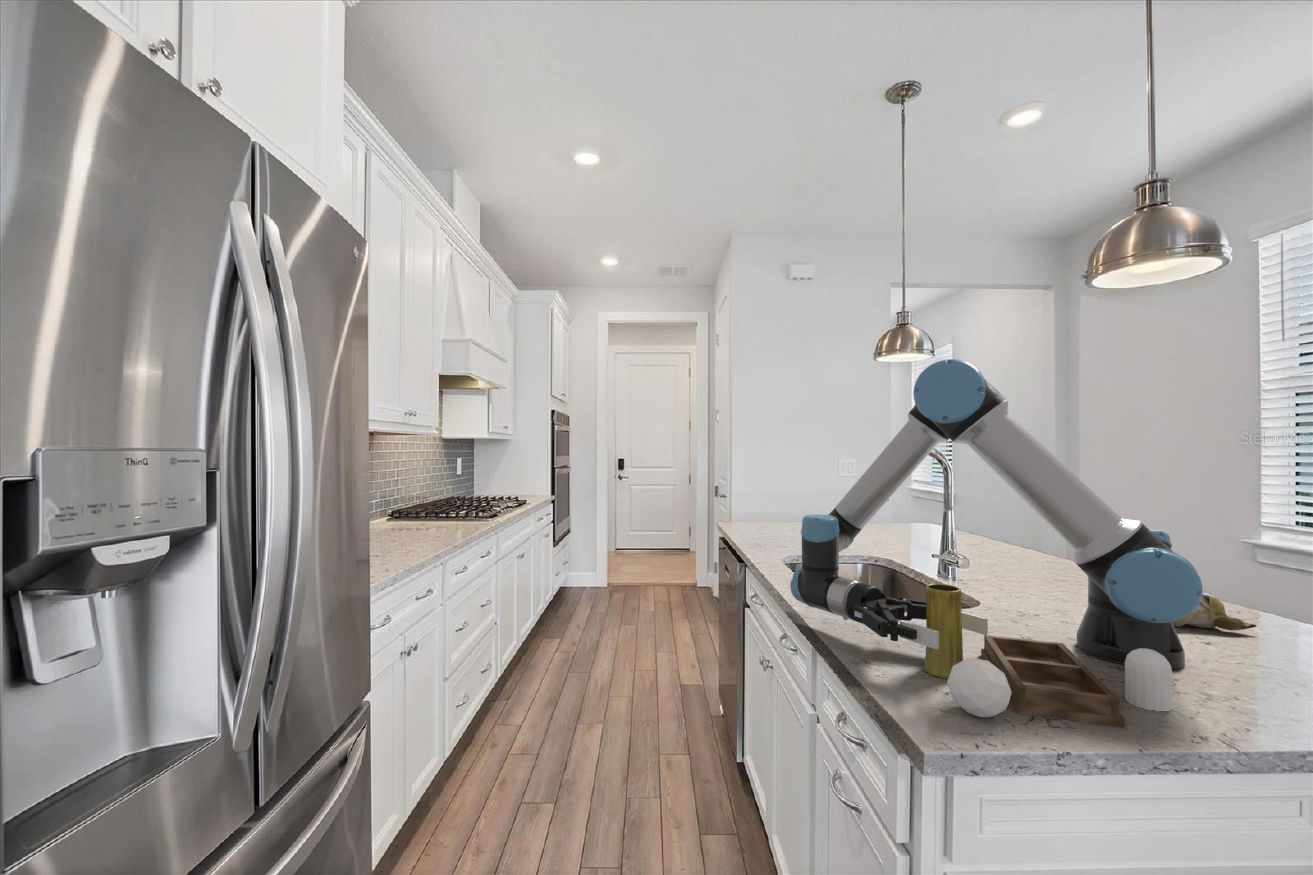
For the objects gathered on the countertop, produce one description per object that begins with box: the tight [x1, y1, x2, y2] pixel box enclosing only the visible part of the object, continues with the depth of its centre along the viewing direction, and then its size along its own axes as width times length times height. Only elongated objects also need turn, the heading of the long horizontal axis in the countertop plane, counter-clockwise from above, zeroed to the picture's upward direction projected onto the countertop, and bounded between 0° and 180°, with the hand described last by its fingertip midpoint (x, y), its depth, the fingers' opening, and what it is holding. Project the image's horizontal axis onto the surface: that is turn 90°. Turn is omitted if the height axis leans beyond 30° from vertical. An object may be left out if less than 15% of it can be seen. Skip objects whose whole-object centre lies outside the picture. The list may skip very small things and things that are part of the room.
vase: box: [923, 583, 964, 680], centre depth 94 cm, size 6×6×14 cm
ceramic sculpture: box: [1172, 592, 1257, 631], centre depth 119 cm, size 11×9×15 cm
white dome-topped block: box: [1124, 648, 1174, 712], centre depth 83 cm, size 5×5×8 cm
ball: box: [946, 657, 1012, 719], centre depth 80 cm, size 8×8×8 cm
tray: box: [980, 634, 1126, 728], centre depth 89 cm, size 13×23×4 cm, turn 160°
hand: (963, 633), depth 91 cm, fingers open, 13 cm apart
